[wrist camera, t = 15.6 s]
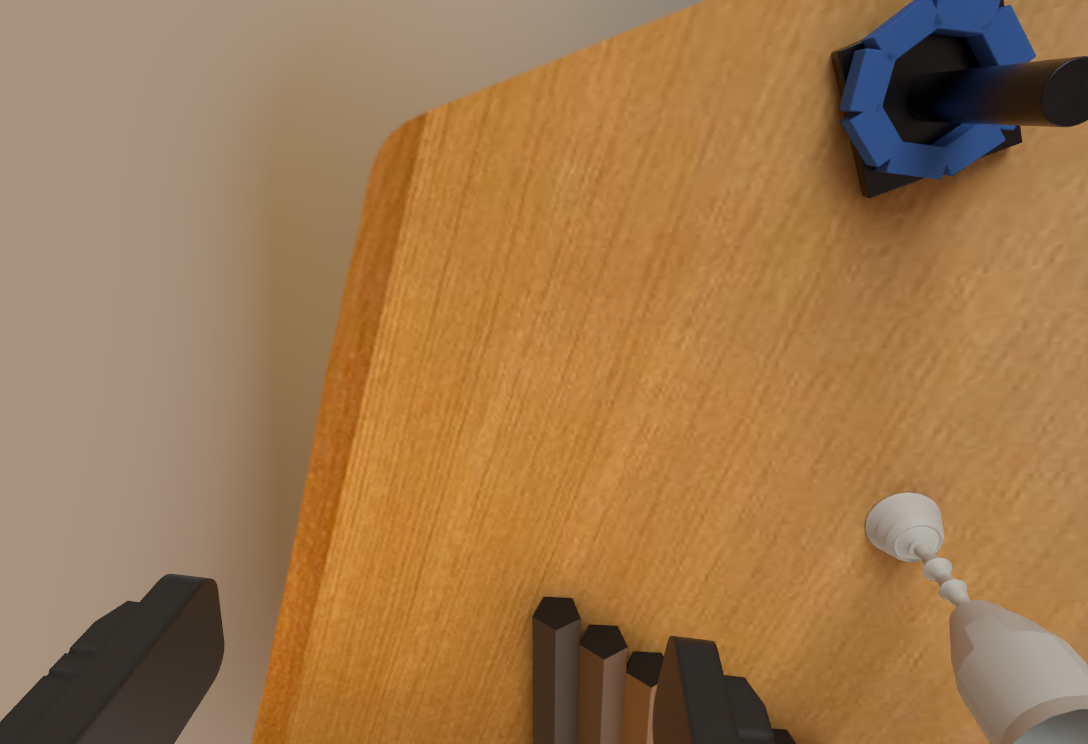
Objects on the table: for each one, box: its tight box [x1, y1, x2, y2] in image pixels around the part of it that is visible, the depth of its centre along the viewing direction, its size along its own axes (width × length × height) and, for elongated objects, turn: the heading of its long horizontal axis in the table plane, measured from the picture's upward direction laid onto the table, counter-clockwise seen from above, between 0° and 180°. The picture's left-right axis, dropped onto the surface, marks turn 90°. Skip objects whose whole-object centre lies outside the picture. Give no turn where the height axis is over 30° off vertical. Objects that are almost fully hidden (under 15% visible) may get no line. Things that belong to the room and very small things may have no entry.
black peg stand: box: [831, 0, 1088, 198], centre depth 29 cm, size 8×8×12 cm
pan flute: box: [532, 597, 796, 744], centre depth 52 cm, size 25×3×25 cm
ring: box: [839, 0, 1036, 179], centre depth 33 cm, size 8×8×2 cm
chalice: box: [865, 492, 1088, 744], centre depth 36 cm, size 7×7×18 cm
